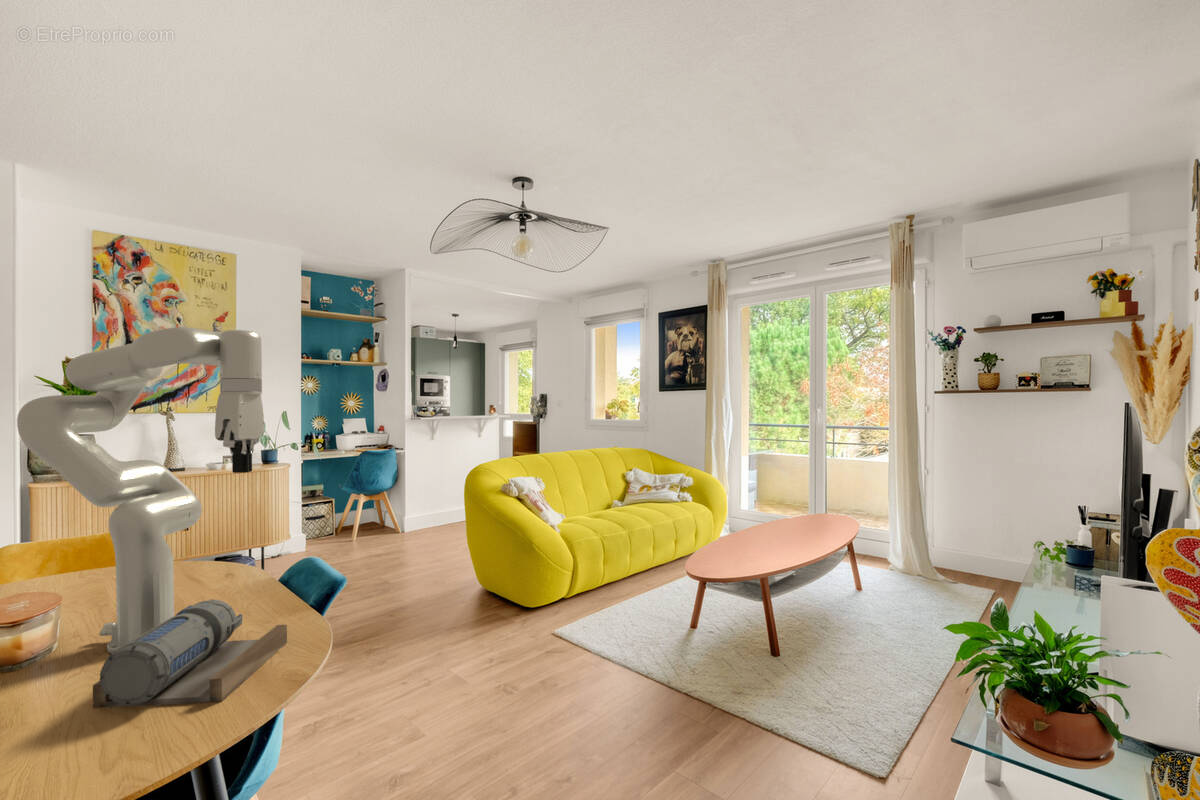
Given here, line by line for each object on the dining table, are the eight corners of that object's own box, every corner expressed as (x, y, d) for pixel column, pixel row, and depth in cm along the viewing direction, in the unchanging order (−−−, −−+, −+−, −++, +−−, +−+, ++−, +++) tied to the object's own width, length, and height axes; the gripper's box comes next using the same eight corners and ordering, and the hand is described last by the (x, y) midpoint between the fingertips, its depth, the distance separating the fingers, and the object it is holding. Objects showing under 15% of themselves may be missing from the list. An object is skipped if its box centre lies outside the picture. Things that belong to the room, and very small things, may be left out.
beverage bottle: (76, 708, 87) (179, 640, 112) (162, 709, 89) (245, 641, 114) (80, 647, 87) (182, 592, 112) (166, 648, 89) (249, 594, 114)
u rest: (93, 708, 90) (92, 685, 90) (184, 647, 112) (184, 628, 112) (222, 701, 92) (221, 678, 92) (287, 643, 114) (286, 624, 114)
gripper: (244, 388, 122) (245, 468, 122) (199, 387, 107) (200, 477, 107) (278, 388, 122) (279, 467, 122) (237, 386, 107) (238, 477, 107)
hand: (242, 472), depth 114 cm, fingers closed
